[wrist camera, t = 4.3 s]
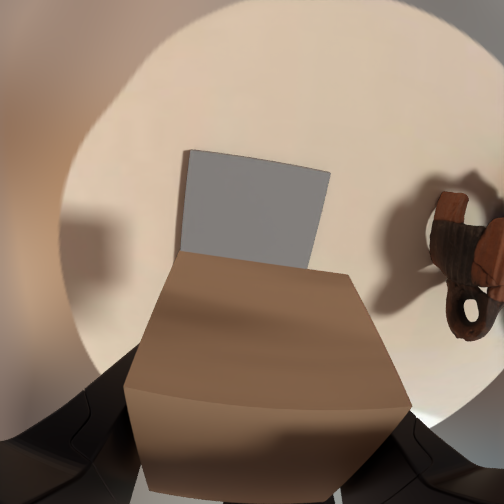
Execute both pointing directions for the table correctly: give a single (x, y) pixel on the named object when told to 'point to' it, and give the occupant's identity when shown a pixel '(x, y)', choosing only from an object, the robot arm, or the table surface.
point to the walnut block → (259, 383)
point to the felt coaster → (252, 208)
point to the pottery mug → (468, 265)
